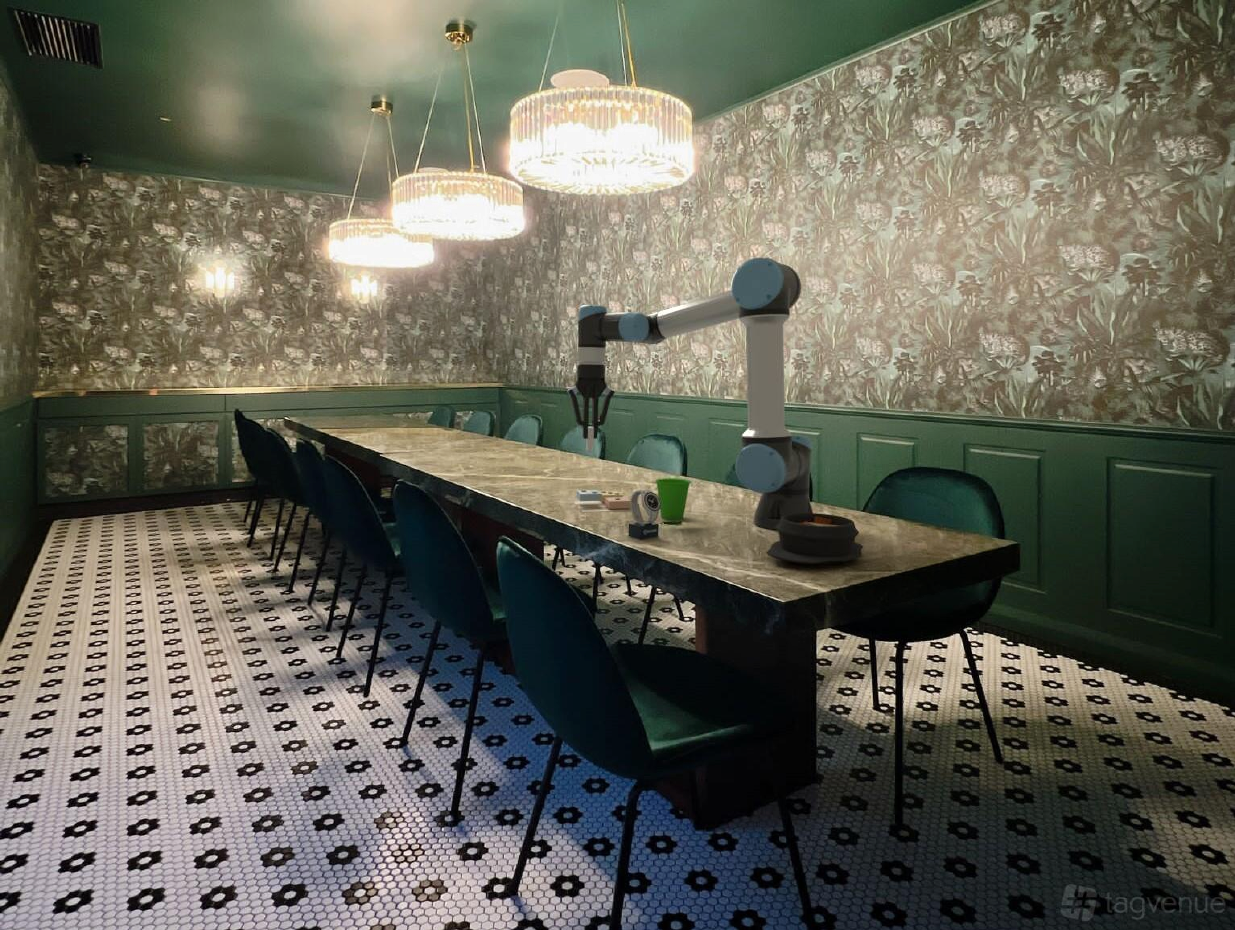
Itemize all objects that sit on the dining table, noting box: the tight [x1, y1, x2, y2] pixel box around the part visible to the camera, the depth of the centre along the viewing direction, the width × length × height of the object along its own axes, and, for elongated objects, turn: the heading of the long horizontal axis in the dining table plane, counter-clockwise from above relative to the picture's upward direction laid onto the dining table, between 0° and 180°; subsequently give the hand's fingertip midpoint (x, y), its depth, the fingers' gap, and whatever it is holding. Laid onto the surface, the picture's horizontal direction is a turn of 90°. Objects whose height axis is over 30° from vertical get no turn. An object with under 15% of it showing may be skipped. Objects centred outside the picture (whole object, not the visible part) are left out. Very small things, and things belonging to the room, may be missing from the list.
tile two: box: [576, 489, 602, 501], centre depth 207 cm, size 6×6×2 cm
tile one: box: [605, 496, 631, 509], centre depth 204 cm, size 6×6×2 cm
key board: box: [571, 498, 631, 513], centre depth 208 cm, size 19×15×2 cm
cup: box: [654, 477, 692, 526], centre depth 191 cm, size 9×9×11 cm
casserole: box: [765, 512, 864, 565], centre depth 158 cm, size 25×19×8 cm
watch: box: [628, 489, 661, 541], centre depth 175 cm, size 6×8×11 cm
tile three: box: [600, 490, 624, 502], centre depth 214 cm, size 6×6×2 cm
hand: (589, 450), depth 206 cm, fingers closed
